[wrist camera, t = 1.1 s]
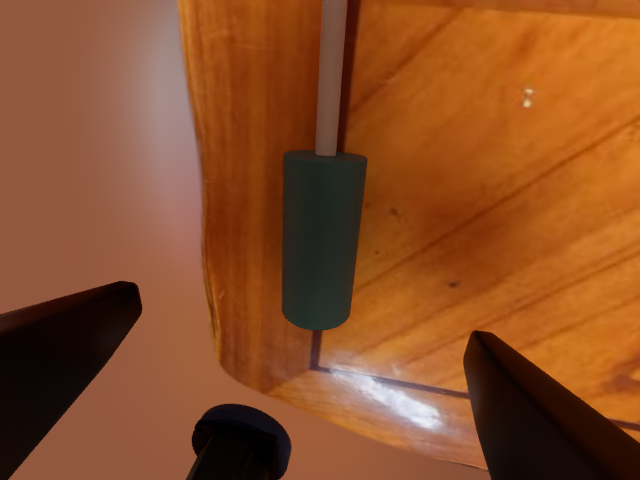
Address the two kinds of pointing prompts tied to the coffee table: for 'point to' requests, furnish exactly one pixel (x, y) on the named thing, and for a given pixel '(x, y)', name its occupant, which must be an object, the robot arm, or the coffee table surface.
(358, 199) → the screwdriver
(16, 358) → the robot arm
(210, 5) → the coffee table surface
